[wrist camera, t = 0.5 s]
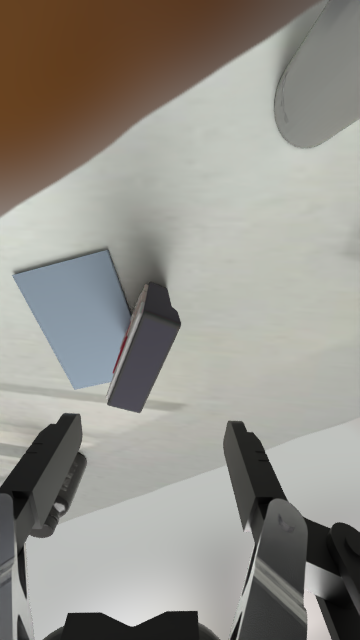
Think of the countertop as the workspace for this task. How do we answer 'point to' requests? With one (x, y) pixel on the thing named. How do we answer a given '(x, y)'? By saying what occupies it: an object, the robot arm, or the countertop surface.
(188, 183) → the countertop surface
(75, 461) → the supplement bottle
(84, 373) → the mat
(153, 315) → the dark grey boxy piece
